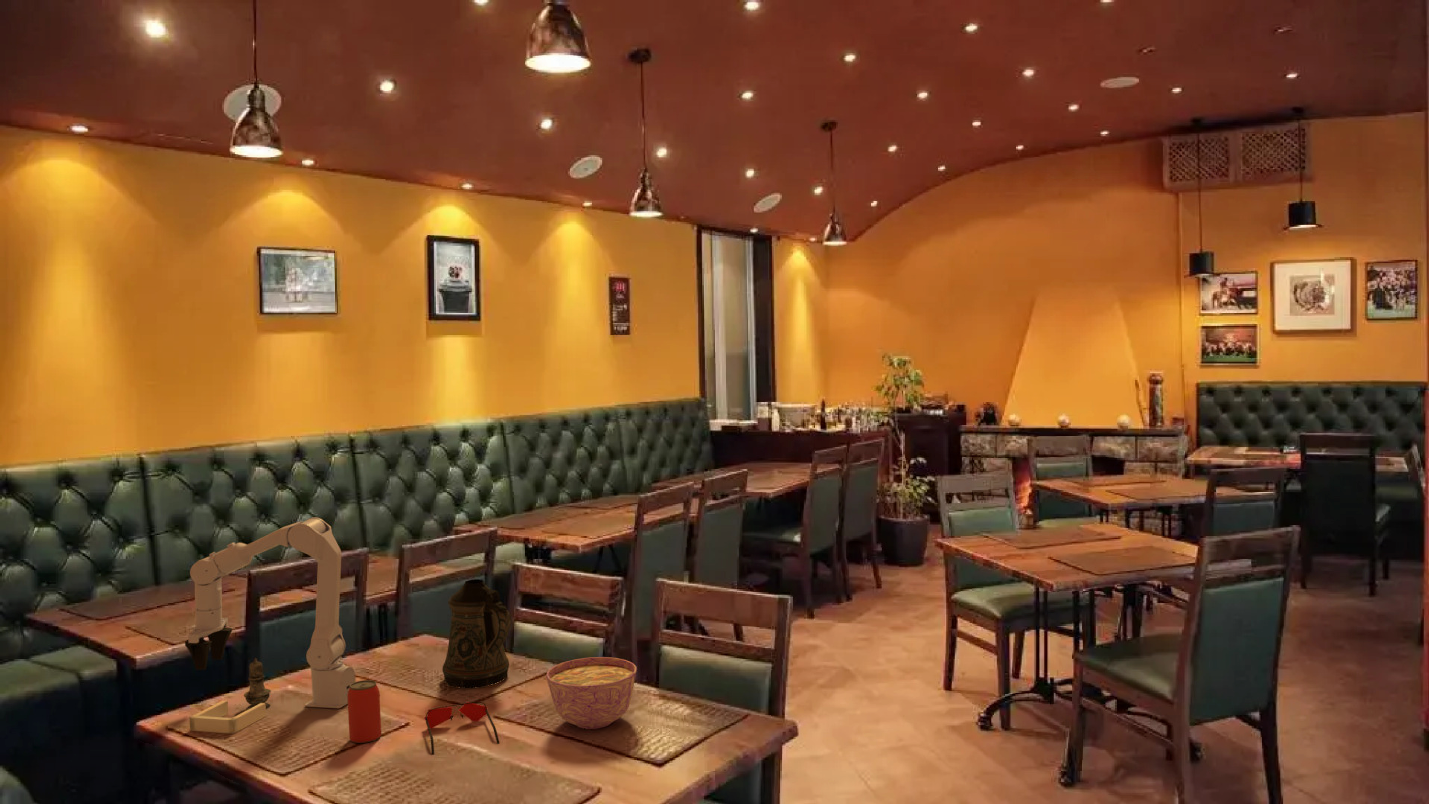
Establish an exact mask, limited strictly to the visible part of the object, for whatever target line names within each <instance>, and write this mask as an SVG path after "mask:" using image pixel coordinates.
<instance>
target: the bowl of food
mask: <svg viewBox="0 0 1429 804" xmlns="http://www.w3.org/2000/svg"><path fill="white" fill-rule="evenodd" d="M637 668H638V667H637V666H636V665H635V664H634V662H631V661H628V660H626V659H624V658H617V657H609V656H608V657H606V656H600V657H596V656H595V657H594V656H593V657H582V658H576V659H572V660H568V661H564V662H560V663H558V664H556V665H554V666H552V667H551V668H550V669H548V670H547V672H546V675H545V677H546V681H547V684H548V687H549V692H550V694H551V699H552V702H553V705H554V707H555V710H556V712H557V713H558V715H559V716H560V717H561V719H562V720H564V721H566V722H567V723H570V724H572V725H575V727H578V728H581V729H584V728H585V729H586V730H591V729H593V730H594V729H595V730H596V729H601V728H605V727H607V726H609V725H611V724H612V723H613V722H616V721H617V720H619V719H620V718H622V716H623V715H625V714H626V712H627V711H628V709H629V707H630V704H631V700H632V697H633V696H632V695H633V691H634V686H635V682H636V681H635V680H636V676H637V670H638V669H637ZM585 729H584V730H585Z"/></svg>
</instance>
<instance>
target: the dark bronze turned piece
mask: <svg viewBox="0 0 1429 804" xmlns="http://www.w3.org/2000/svg"><path fill="white" fill-rule="evenodd" d="M248 669H249V676H248V680H249V690H248V691H246V692H245V693H244V694H243V696H244V698H245V701H246V702H247V703H248V704H249V705H248V706H247V707H246V709H245V711H247V710H249V709H250V708H252V707H254V706H256V705H258V704H260V703H265V704H266V710H268V709H269V708H270V707H271V704H270V703H268V702H267V701H268V700H269V698H270V693H271V692H272V690H271V689H269V688H266V686H265V682H264V678H265V677H266V676H265V675H264V673H263V672H264V670H263V663H262V662H261V661H259V660H258V659H257V658H256V657H255V658H254V660H253V662H251V663H250V664H249V667H248Z"/></svg>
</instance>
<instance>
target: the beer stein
mask: <svg viewBox="0 0 1429 804" xmlns="http://www.w3.org/2000/svg"><path fill="white" fill-rule="evenodd" d="M500 598H501V597H500V594H499V592H498V591H497V590H494V589H492V588H490V587H488V586H487V585H486V584H485V581H484V580H483V579H477V578H476V579H473V578H472V579H468V580H465V582H464V584H463V585H462V586H461V587H460V589H459V590H457V591H456V592H455V593H453V595H451V596H450V598H449V599H448V601H447V602H448V607H449V609H450V610H451V618H450V627H449V638H448V646H447V652H446V657H445V660H444V663H443V665H442V668H441V669H442V674H443V676H444V683H445V682H446V683H447V684H446V683H445V684H446V685H448V686H449V687H451V686H453V688H456V687H460V688H459V689H476V688H475V687H479V688H485V687H488V685H489V686H492V685H491V684H493V685H496V684H495V683H497V682H499V683H501V682H503V681H504V680H506V679H507V678H508V671H509V667H510V661H509V658H508V656H507V653H506V651H505V647H504V644H505V641H506V640H507V638H508V635H509V633H510V630H511V622H512V620H511V615H510V612H509V610H508V609H507V607H506V604H505V603H503V602H502V601H500ZM503 679H504V680H503ZM502 680H503V681H502ZM500 681H501V682H500ZM497 684H498V683H497Z"/></svg>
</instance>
